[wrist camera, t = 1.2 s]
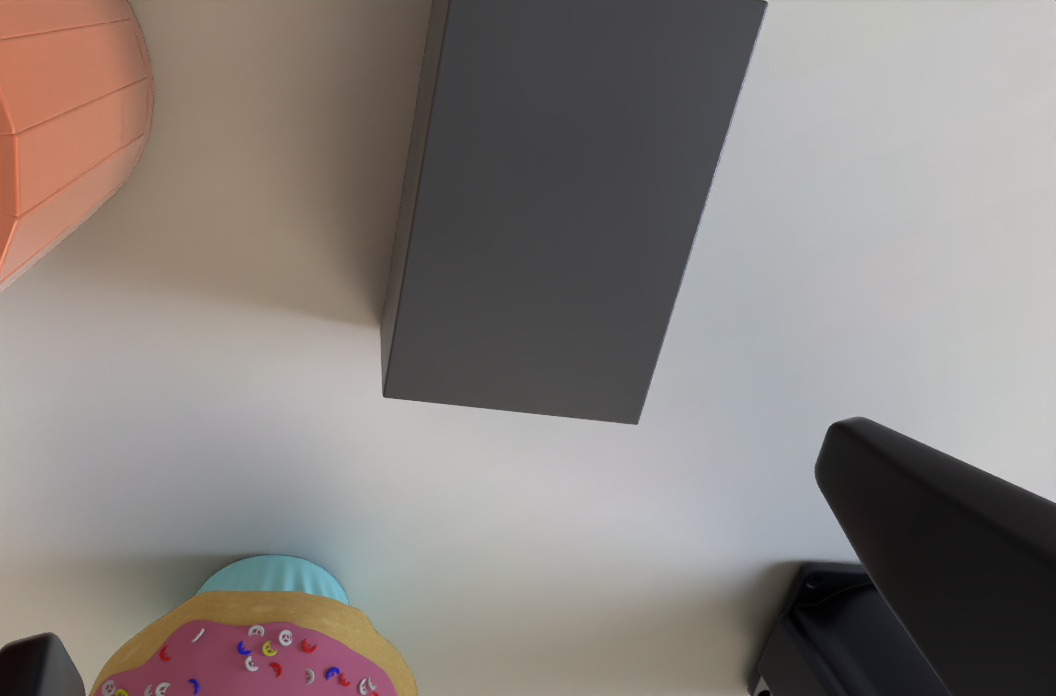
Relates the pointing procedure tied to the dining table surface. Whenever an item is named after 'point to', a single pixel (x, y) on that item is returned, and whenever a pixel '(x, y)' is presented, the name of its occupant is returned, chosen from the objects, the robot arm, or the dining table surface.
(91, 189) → the terracotta cup
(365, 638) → the cupcake
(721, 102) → the black bar
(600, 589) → the dining table surface
